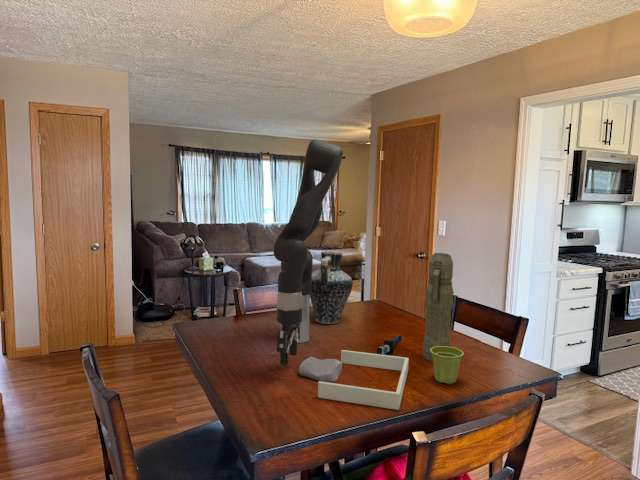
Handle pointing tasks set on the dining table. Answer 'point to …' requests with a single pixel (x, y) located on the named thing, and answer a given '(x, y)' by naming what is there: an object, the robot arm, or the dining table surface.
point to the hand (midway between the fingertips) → (288, 359)
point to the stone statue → (438, 303)
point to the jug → (329, 289)
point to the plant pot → (446, 363)
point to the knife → (389, 346)
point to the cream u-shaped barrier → (367, 394)
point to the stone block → (321, 369)
